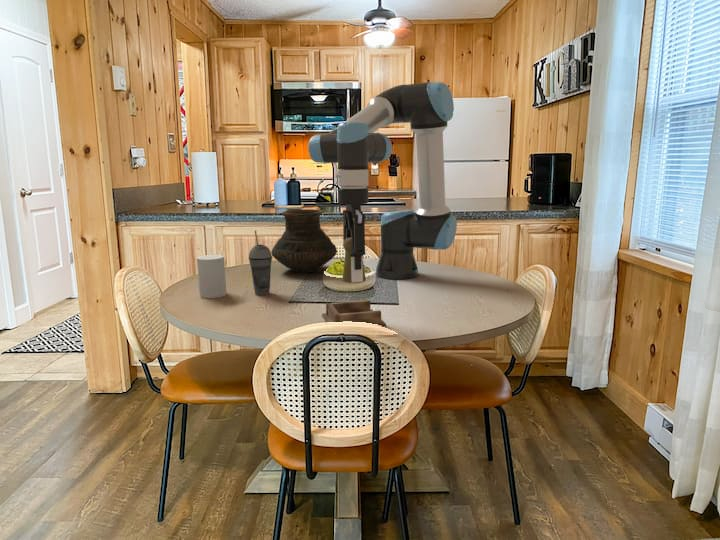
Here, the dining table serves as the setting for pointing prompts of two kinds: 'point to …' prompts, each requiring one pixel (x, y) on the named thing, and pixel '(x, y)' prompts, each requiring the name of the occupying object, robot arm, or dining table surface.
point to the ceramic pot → (303, 242)
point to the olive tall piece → (349, 262)
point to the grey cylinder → (211, 276)
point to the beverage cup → (260, 268)
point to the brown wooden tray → (352, 312)
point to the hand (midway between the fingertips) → (354, 278)
